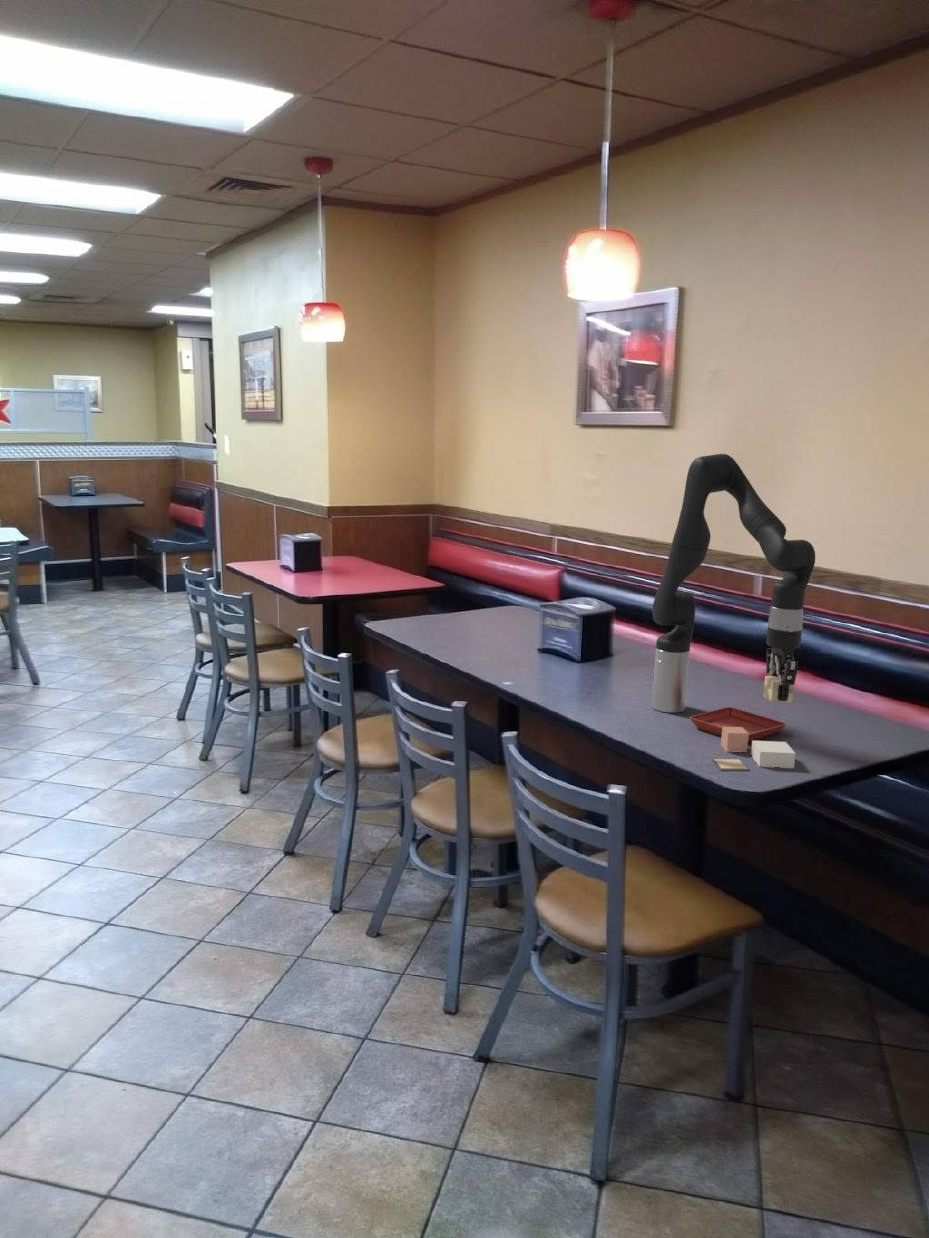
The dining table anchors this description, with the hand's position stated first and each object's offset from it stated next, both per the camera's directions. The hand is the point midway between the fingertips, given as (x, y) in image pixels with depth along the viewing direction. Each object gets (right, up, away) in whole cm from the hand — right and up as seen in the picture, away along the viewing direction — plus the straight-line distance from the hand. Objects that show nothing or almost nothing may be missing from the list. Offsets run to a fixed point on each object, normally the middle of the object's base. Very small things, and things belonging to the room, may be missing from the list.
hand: (778, 696), depth 217 cm
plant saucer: (-2, -12, +26) cm, 29 cm away
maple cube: (0, -1, 0) cm, 1 cm away
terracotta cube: (-7, -14, +11) cm, 19 cm away
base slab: (0, -16, +3) cm, 16 cm away
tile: (-11, -16, 0) cm, 20 cm away
